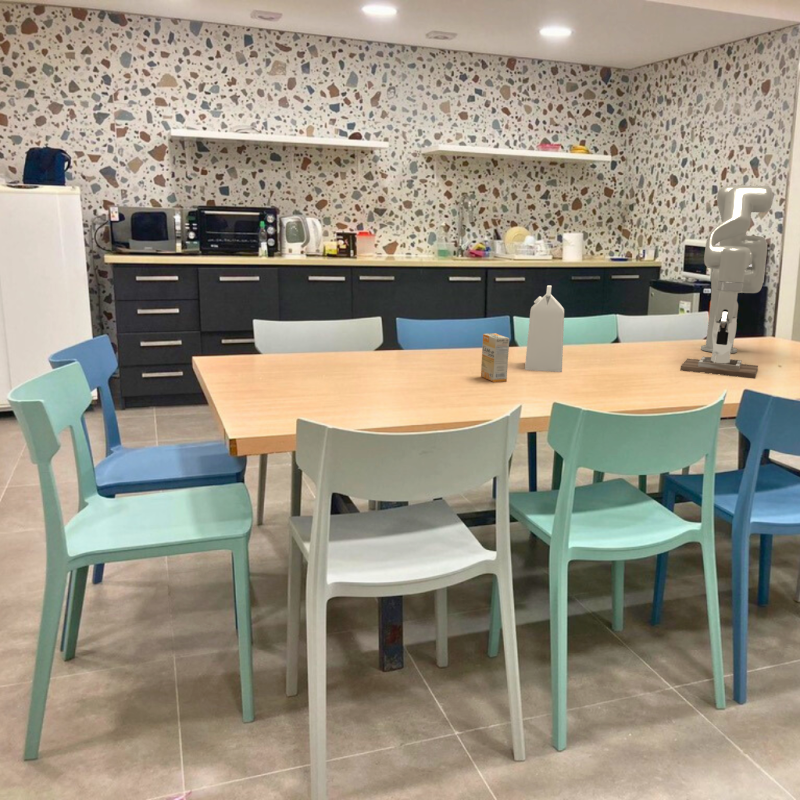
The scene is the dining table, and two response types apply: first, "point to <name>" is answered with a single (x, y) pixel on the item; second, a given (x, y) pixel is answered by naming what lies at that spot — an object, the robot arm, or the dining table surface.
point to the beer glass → (723, 351)
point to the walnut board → (720, 367)
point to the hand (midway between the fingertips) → (722, 342)
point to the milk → (545, 334)
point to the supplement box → (495, 357)
